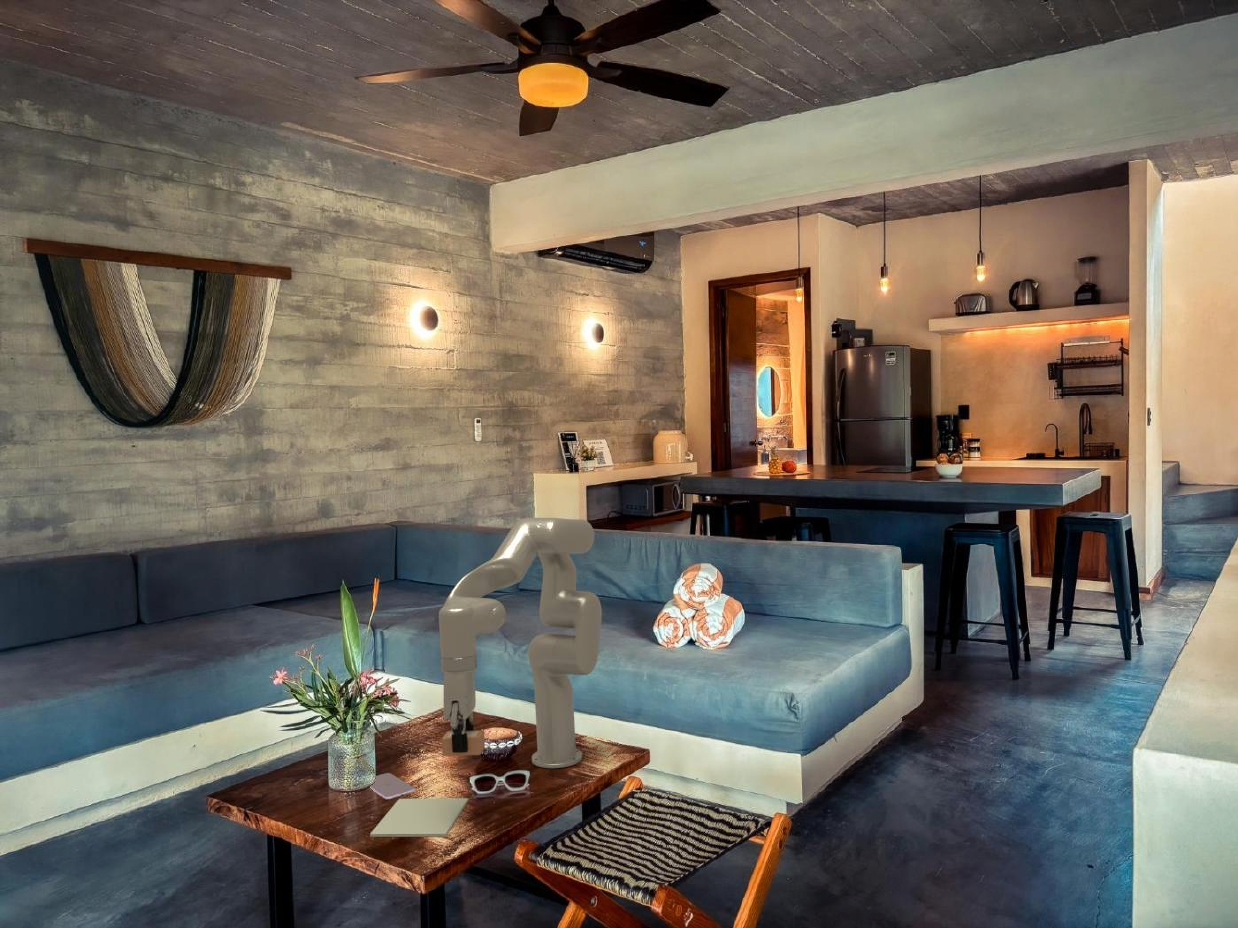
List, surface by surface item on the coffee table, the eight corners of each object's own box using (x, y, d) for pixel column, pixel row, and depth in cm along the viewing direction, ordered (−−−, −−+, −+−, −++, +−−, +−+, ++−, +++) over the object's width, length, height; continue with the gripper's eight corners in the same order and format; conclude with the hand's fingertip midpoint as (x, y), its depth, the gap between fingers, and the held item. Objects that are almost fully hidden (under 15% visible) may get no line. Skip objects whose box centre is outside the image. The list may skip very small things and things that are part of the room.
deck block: (484, 746, 200) (483, 729, 200) (480, 754, 195) (479, 737, 195) (448, 747, 200) (447, 730, 200) (442, 755, 195) (441, 738, 195)
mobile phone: (386, 797, 210) (359, 779, 222) (386, 801, 210) (359, 783, 222) (417, 787, 215) (389, 771, 227) (417, 791, 215) (389, 774, 227)
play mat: (399, 801, 209) (399, 798, 209) (468, 800, 207) (468, 798, 207) (370, 836, 191) (370, 833, 191) (445, 836, 189) (445, 833, 189)
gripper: (451, 653, 206) (456, 734, 206) (430, 674, 189) (435, 762, 189) (485, 652, 205) (489, 733, 206) (467, 673, 188) (471, 761, 189)
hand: (463, 746), depth 197 cm, fingers closed on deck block, 5 cm apart
